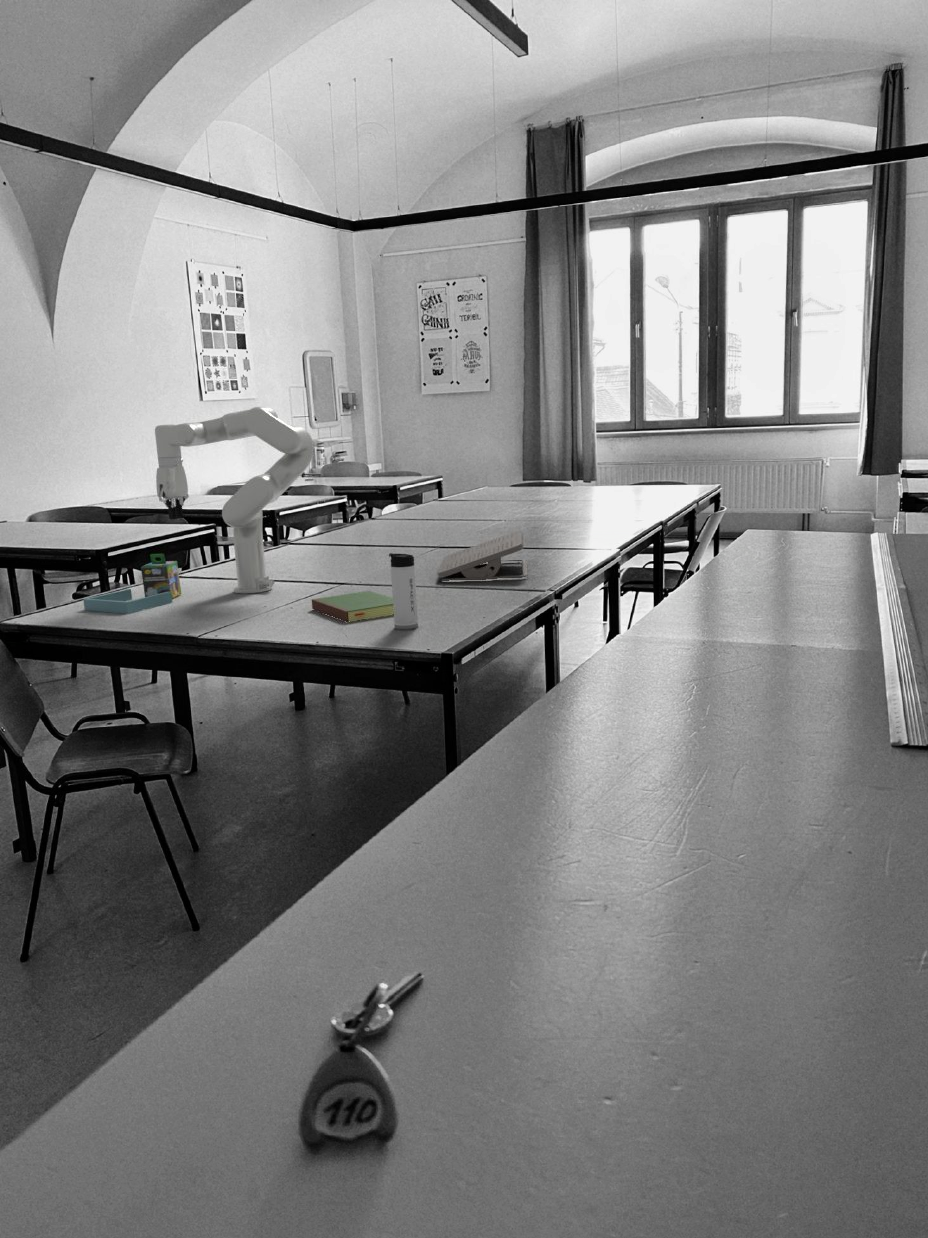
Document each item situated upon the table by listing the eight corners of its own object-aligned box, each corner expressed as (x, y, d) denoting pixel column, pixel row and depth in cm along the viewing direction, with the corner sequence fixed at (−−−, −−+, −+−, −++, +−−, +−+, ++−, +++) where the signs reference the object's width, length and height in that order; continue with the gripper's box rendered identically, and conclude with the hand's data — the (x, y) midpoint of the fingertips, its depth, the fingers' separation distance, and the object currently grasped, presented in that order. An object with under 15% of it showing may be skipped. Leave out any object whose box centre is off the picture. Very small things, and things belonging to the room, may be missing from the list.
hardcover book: (312, 611, 293) (311, 599, 292) (369, 602, 303) (368, 590, 302) (348, 625, 272) (347, 611, 272) (408, 615, 282) (407, 602, 281)
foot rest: (444, 566, 365) (443, 532, 363) (526, 563, 363) (525, 529, 361) (436, 585, 327) (434, 547, 325) (527, 582, 325) (526, 543, 323)
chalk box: (182, 594, 330) (177, 550, 327) (171, 600, 321) (166, 555, 318) (155, 595, 331) (150, 551, 328) (144, 601, 322) (138, 556, 319)
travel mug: (393, 625, 266) (388, 552, 262) (417, 624, 267) (413, 550, 262) (393, 630, 260) (388, 555, 256) (418, 629, 261) (414, 554, 256)
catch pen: (172, 602, 317) (171, 591, 316) (128, 613, 301) (126, 602, 300) (129, 599, 326) (128, 588, 325) (84, 610, 311) (83, 599, 310)
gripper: (179, 461, 334) (185, 515, 337) (143, 464, 320) (150, 521, 324) (196, 461, 330) (201, 516, 334) (160, 464, 316) (166, 521, 320)
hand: (176, 518), depth 329 cm, fingers closed
